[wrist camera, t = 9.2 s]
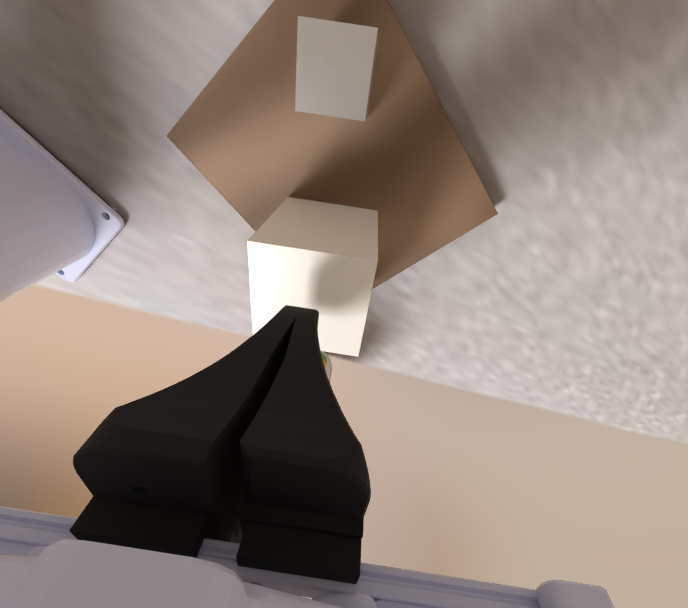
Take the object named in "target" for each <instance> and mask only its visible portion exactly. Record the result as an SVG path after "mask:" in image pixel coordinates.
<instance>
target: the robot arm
mask: <svg viewBox="0 0 688 608" xmlns="http://www.w3.org/2000/svg"><path fill="white" fill-rule="evenodd" d="M106 213H107V214H108V215H109V216H110V217H108V216H107V214H106ZM123 226H124V221H123V219H122V217H121V216H120V215H119V214H117V213H116V212H115V211H114V210H113V209H112V208H111V207H110V206H108V205H107V204H106V203H105V202H104V201H103V200H102V199H101V198H99V197H98V196H97V195H96V194H95V193H94V192H93V191H92V190H90V189H89V188H88V187H87V186H86V185H85V184H84V183H83V182H81V181H80V180H79V179H78V178H77V177H76V176H75V175H74V174H72V173H71V172H70V171H69V170H68V169H67V168H66V167H65V166H63V165H62V164H61V163H60V162H59V161H58V160H57V159H56V158H54V157H53V156H52V155H51V154H50V153H49V152H48V151H47V150H45V149H44V148H43V147H42V146H41V145H40V144H39V143H38V142H36V141H35V140H34V139H33V138H32V137H31V136H30V135H29V134H28V133H26V132H25V131H24V130H23V129H22V128H21V127H20V126H19V125H17V124H16V123H15V122H14V121H13V120H12V119H11V118H10V117H8V116H7V115H6V114H5V113H4V112H3V111H2V110H1V109H0V302H1V301H3V300H5V299H7V298H9V297H11V296H13V295H15V294H16V293H18V292H20V291H22V290H24V289H26V288H28V287H30V286H31V285H33V284H35V283H37V282H39V281H41V280H43V279H45V278H46V277H48V276H50V275H52V274H54V273H56V274H57V275H58V276H60V277H61V278H63V279H64V280H65V281H67V282H74V281H76V280H78V278H79V277H80V276H81V275H82V274H83V273H84V271H85V270H86V269H87V268H88V267H89V266H90V264H91V263H92V262H93V261H94V260H95V259H96V258H97V256H98V255H99V254H100V253H101V252H102V251H103V249H104V248H105V247H106V246H107V245H108V244H109V243H110V241H111V240H112V239H113V238H114V237H115V236H116V234H117V233H118V232H119V231H120V230H121V229H122V227H123ZM318 319H319V312H318V311H317V310H315V309H309V308H302V307H296V306H289V305H286V306H284V307H283V308H282V309H281V310H280V311H279V312H278V313H277V314H276V315H275V316H274V317H273V318H272V319H271V320H270V321H269V322H267V323H266V324H265V325H264V326H263V327H262V328H261V329H260V330H258V331H257V332H256V333H255V334H254V335H253V336H252V337H250V338H249V339H248V340H247V341H245V342H244V343H243V344H241V345H240V346H239V347H237V348H236V349H235V350H234V351H232V352H231V353H229V354H228V355H226V356H225V357H223V358H222V359H220V360H219V361H217V362H215V363H214V364H212V365H210V366H209V367H207V368H205V369H203V370H202V371H200V372H198V373H196V374H194V375H192V376H191V377H189V378H187V379H185V380H183V381H181V382H178V383H176V384H174V385H172V386H170V387H168V388H165V389H163V390H161V391H158V392H156V393H154V394H151V395H149V396H146V397H143V398H141V399H138V400H135V401H133V402H130V403H128V404H125V405H123V406H119V407H117V408H115V409H114V410H113V411H112V412H111V413H110V414H109V415H108V416H107V417H106V418H105V419H104V421H103V422H102V423H101V424H100V425H99V426H98V428H97V429H96V430H95V431H94V432H93V434H92V435H91V436H90V437H89V438H88V439H87V441H86V442H85V443H84V444H83V446H82V447H81V448H80V449H79V450H78V451H77V453H76V454H75V455H74V457H73V465H74V468H75V470H76V472H77V474H78V475H79V476H80V478H81V479H82V481H83V482H84V484H85V485H86V486H87V488H88V489H89V490H90V492H91V493H92V495H93V498H92V499H91V500H90V502H89V503H88V505H87V506H86V507H85V509H84V510H83V512H82V513H81V514H80V516H79V517H78V518H73V517H67V516H60V515H54V514H47V513H41V512H35V511H28V510H22V509H15V508H8V507H3V506H0V608H614V606H613V604H612V602H611V599H610V597H609V595H608V593H607V591H606V590H605V589H604V588H603V587H600V586H595V585H589V584H582V583H576V582H569V581H563V580H550V581H546V582H543V583H542V584H540V585H539V586H538V587H537V588H536V590H533V589H527V588H521V587H514V586H507V585H501V584H495V583H489V582H482V581H476V580H470V579H463V578H457V577H450V576H444V575H438V574H431V573H425V572H418V571H412V570H405V569H399V568H393V567H386V566H380V565H373V564H367V563H361V561H360V560H361V559H360V558H361V538H362V537H363V518H364V515H365V512H366V509H367V507H368V504H369V501H370V494H371V489H370V480H369V474H368V469H367V465H366V461H365V457H364V453H363V450H362V446H361V444H360V442H359V441H358V439H357V438H356V436H355V434H354V433H353V431H352V429H351V427H350V426H349V424H348V422H347V420H346V418H345V416H344V414H343V413H342V411H341V409H340V406H339V404H338V402H337V399H336V397H335V395H334V393H333V390H332V388H331V385H330V382H329V380H328V377H327V374H326V370H325V367H324V364H323V360H322V355H321V351H320V345H319V339H318ZM301 596H303V597H301ZM305 597H310V598H312V599H308V598H305Z"/></svg>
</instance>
